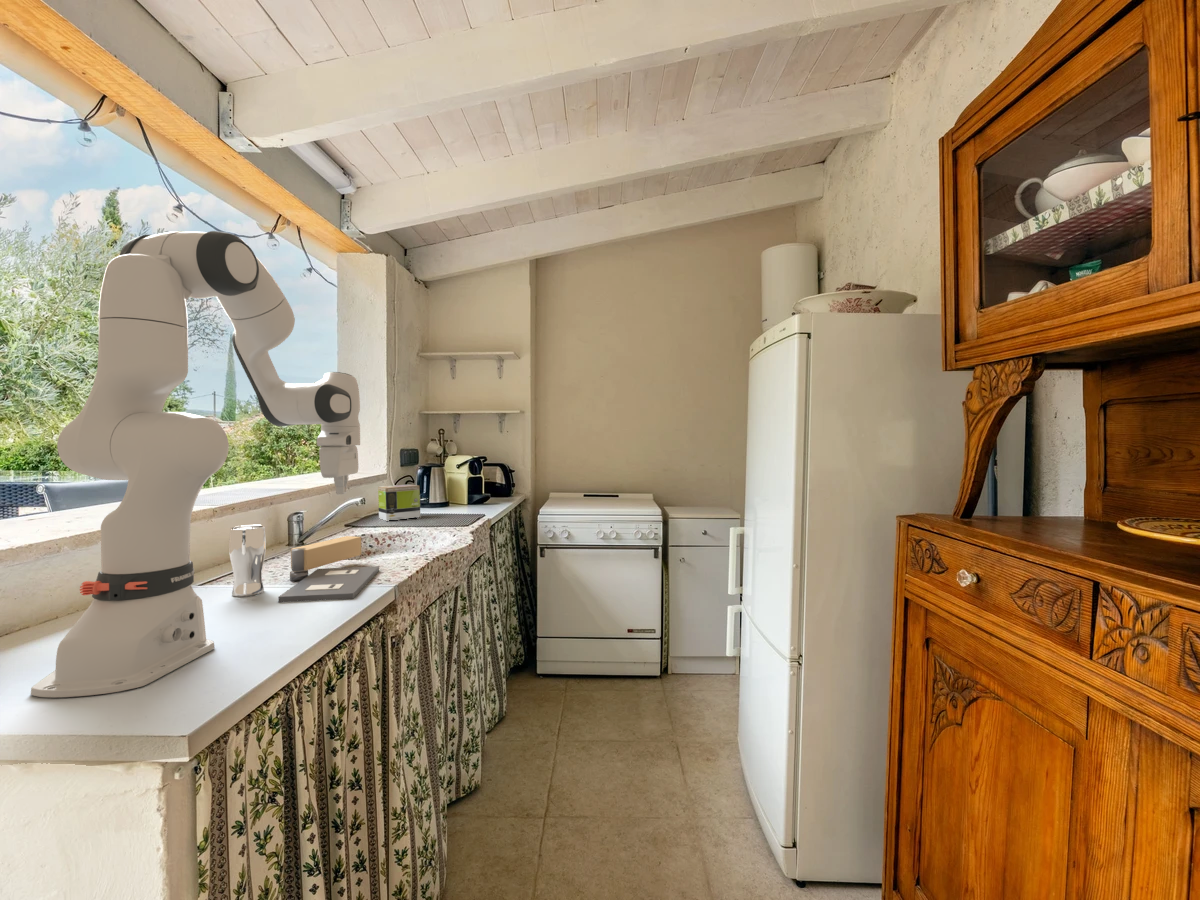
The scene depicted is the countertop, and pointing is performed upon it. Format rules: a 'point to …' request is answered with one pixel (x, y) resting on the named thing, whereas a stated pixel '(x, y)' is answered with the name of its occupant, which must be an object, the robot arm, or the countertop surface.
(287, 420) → the robot arm
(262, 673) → the countertop surface
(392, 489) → the tea box
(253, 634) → the countertop surface
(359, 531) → the countertop surface
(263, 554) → the beer glass
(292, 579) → the pivot post
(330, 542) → the swing arm
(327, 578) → the label panel
